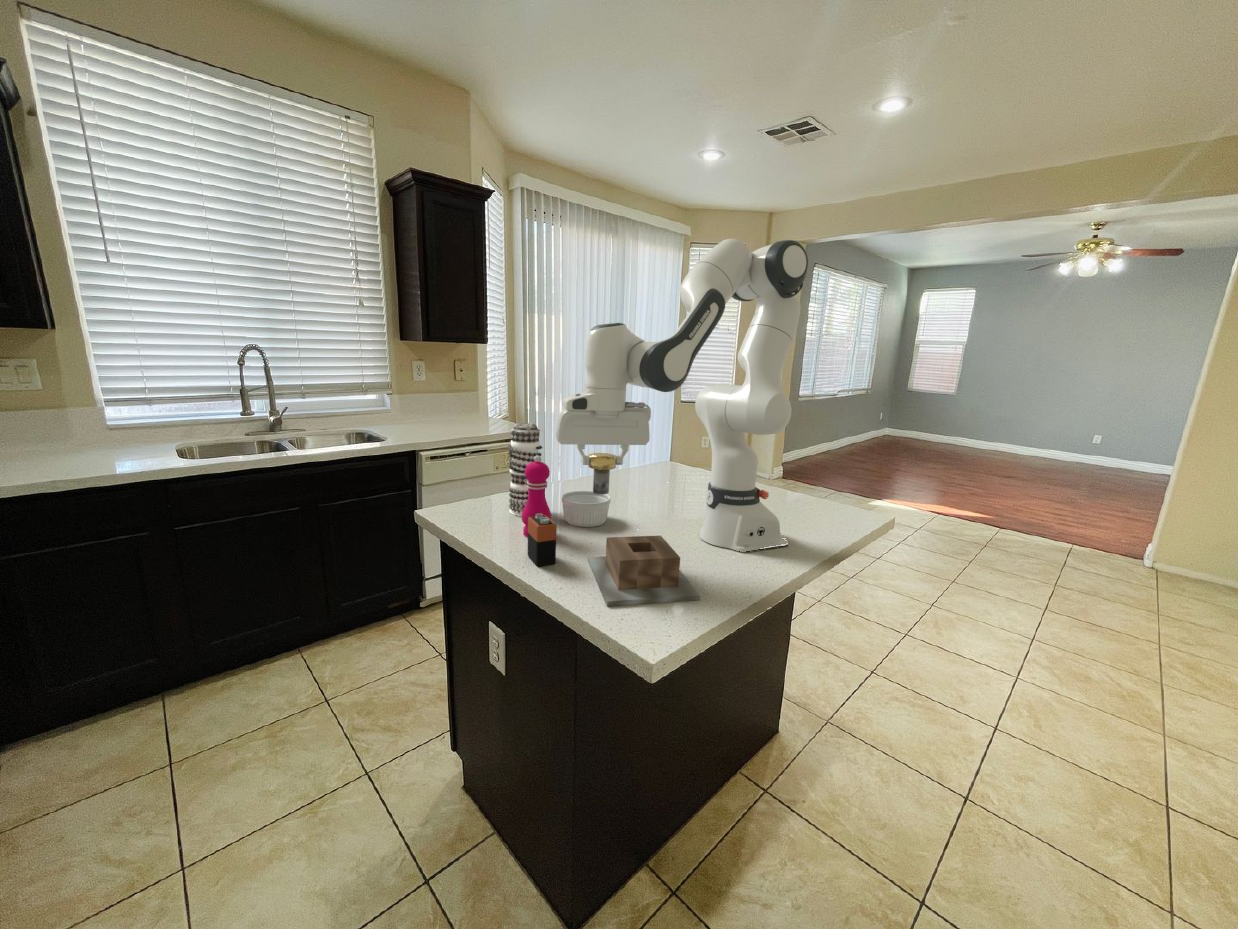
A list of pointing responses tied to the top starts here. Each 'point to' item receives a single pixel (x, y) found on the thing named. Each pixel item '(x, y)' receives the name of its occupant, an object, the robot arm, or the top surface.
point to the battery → (542, 540)
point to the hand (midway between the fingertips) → (602, 464)
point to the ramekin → (585, 508)
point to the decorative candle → (521, 463)
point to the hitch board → (639, 593)
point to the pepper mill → (536, 491)
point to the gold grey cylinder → (601, 471)
